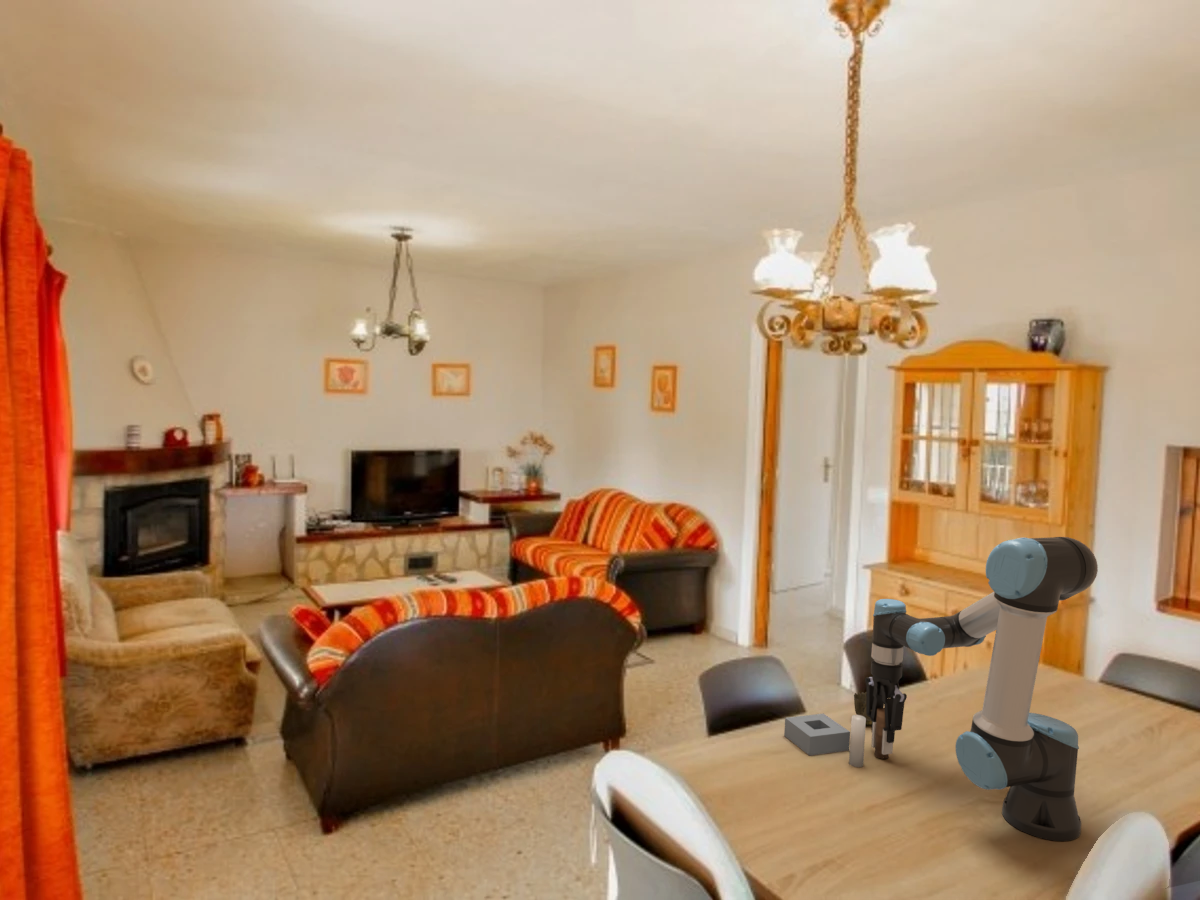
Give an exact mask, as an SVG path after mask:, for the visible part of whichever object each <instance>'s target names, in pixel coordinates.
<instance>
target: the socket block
mask: <svg viewBox="0 0 1200 900" xmlns="http://www.w3.org/2000/svg"><path fill="white" fill-rule="evenodd" d="M783 736H784V737H785V738H786V739H787V740H789V741H790V740H791V741H792V742H791V741H790V742H791V743H792V744H794V745H795V746H796V745H797V746H796V747H798V748H799V749H800V750H801V751H802V752H804V753H805V754H807V755H808V756H811V757H812V756H816V755H817V756H818V755H825V754H832V753H840V752H846V751H847V752H848V751H850V737H851V730H849V729H847V728H845V727H844V726H842V725H841V724H839V723H838V722H837V721H836V720H834V719H832V718H831V717H829V716H828V715H826V714H825V713H817V714H809V715H806V714H805V715H797V716H790V717H788V716H787V717H785V718H784V734H783Z"/></svg>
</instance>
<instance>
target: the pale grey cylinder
mask: <svg viewBox="0 0 1200 900" xmlns="http://www.w3.org/2000/svg"><path fill="white" fill-rule="evenodd" d="M866 727H867V726H866V718H865V717H864V716H861V715H856V714H852V716H851V722H850V745H849V755H848V756H849V757H848V758H849V759H848V764H849V766H851V767H854V768H862V767H864V756H865V755H864V754H865V743H866V742H865V739H866Z"/></svg>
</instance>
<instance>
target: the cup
mask: <svg viewBox="0 0 1200 900" xmlns="http://www.w3.org/2000/svg"><path fill="white" fill-rule="evenodd" d="M866 693H867V691H865V692H863V691H861V693H860V692H857V693H856V692H855V693H854V694H853V700H854V713H855V715H861V716H864V717H865V718H866V727H870V726H871V727H872V721H871V717H870V716H867V714H866ZM871 711H872V710H871Z"/></svg>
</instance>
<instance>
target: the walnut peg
mask: <svg viewBox="0 0 1200 900" xmlns="http://www.w3.org/2000/svg"><path fill="white" fill-rule="evenodd" d="M883 728H885V709H884V707H883V708H878V709H877V719H876V737H875V748H874V756H875V757H876V758H878V759H880V760H881V759H882V760H887V759H888V758H889V755H890V754H886V755H883V754H882V738H883Z"/></svg>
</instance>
